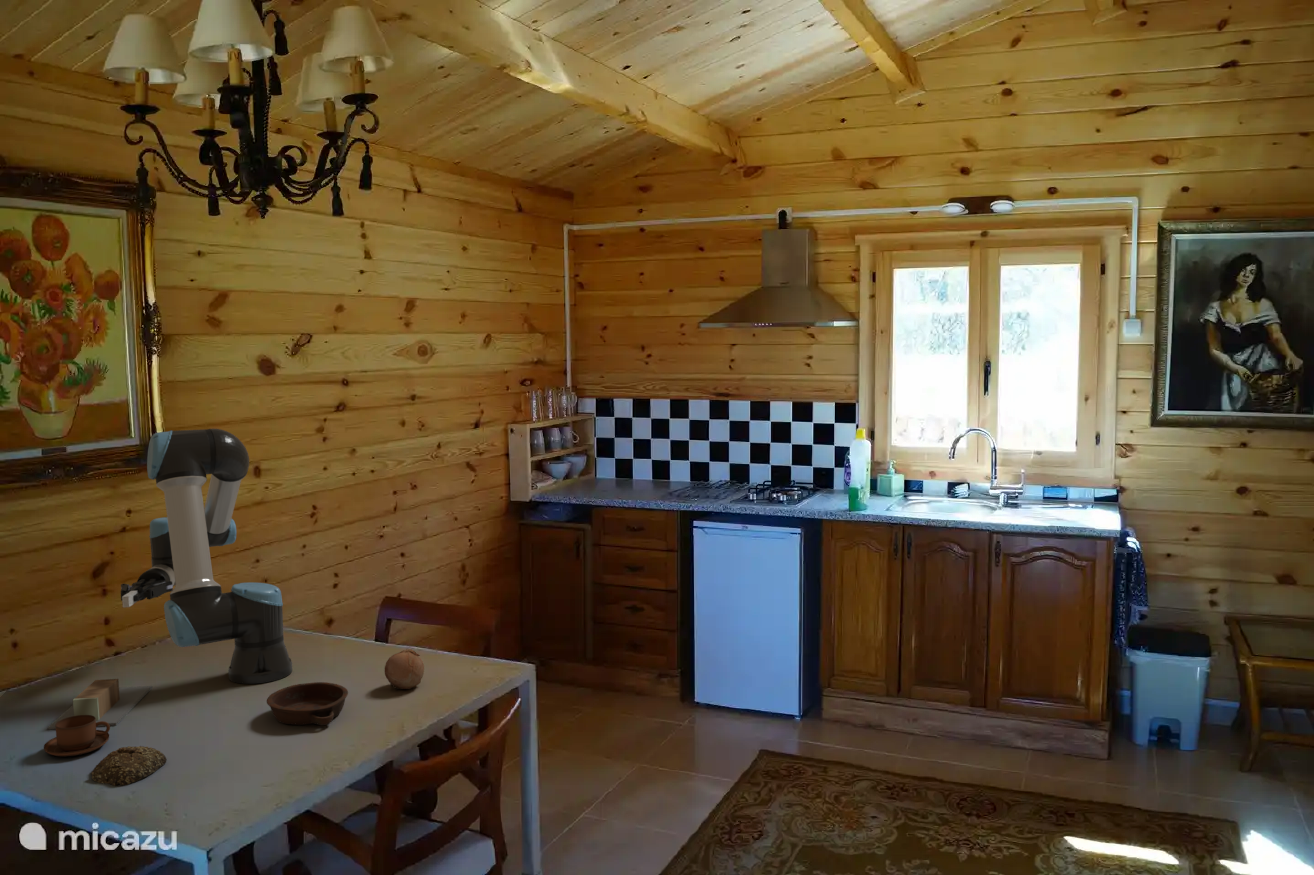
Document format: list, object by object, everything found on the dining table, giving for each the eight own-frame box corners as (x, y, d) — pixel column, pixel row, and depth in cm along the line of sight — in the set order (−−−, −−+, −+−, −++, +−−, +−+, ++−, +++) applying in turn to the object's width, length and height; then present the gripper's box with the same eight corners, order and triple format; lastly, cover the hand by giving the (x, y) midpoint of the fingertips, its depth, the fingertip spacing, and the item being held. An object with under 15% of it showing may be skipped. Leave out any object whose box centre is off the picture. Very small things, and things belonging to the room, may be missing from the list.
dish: (285, 740, 219) (284, 718, 218) (254, 710, 236) (253, 689, 235) (364, 721, 229) (363, 699, 229) (328, 693, 246) (327, 673, 246)
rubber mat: (152, 688, 250) (151, 685, 250) (116, 725, 227) (116, 722, 227) (90, 691, 248) (90, 689, 248) (48, 729, 225) (48, 726, 225)
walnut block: (118, 678, 241) (97, 698, 228) (119, 699, 241) (98, 719, 228) (95, 679, 240) (73, 699, 227) (97, 700, 240) (74, 721, 228)
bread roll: (176, 763, 208) (174, 739, 207) (129, 789, 196) (127, 764, 195) (124, 756, 211) (122, 733, 211) (75, 781, 199) (73, 757, 199)
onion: (411, 693, 254) (421, 653, 257) (424, 694, 246) (434, 652, 250) (375, 685, 250) (385, 645, 253) (386, 686, 242) (397, 644, 245)
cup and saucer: (99, 733, 223) (97, 706, 222) (117, 749, 214) (115, 721, 214) (37, 749, 214) (35, 721, 214) (53, 766, 206) (51, 737, 205)
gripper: (182, 593, 277) (154, 615, 254) (131, 596, 275) (98, 618, 252) (180, 566, 277) (152, 585, 253) (129, 569, 275) (96, 588, 251)
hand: (125, 601), depth 253 cm, fingers closed
